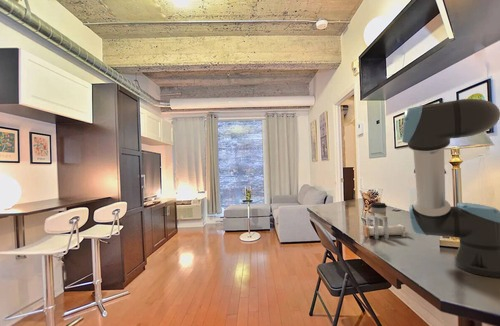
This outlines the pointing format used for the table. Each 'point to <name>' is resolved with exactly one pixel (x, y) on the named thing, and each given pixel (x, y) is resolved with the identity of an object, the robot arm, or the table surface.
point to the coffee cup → (379, 210)
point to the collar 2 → (385, 224)
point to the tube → (391, 231)
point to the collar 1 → (375, 224)
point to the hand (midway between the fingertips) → (429, 188)
